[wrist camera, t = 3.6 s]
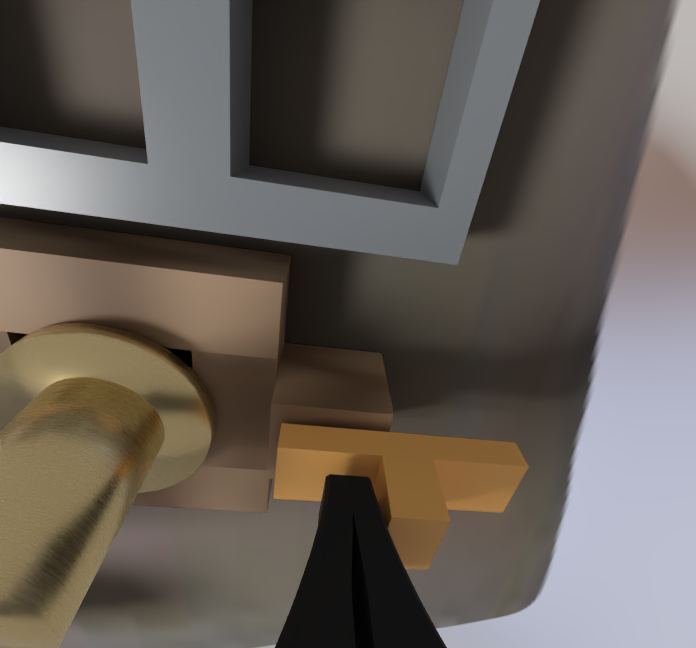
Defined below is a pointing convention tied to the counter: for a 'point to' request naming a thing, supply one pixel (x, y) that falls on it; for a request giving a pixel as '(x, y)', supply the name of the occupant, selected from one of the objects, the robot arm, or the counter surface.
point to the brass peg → (84, 460)
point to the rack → (234, 143)
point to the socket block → (196, 341)
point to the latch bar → (402, 477)
